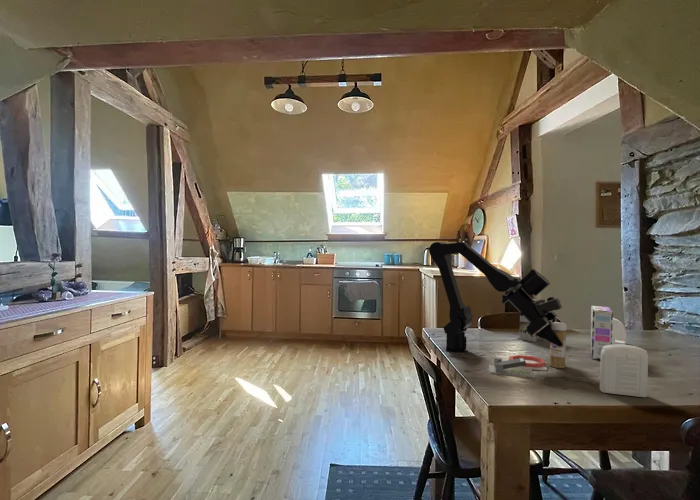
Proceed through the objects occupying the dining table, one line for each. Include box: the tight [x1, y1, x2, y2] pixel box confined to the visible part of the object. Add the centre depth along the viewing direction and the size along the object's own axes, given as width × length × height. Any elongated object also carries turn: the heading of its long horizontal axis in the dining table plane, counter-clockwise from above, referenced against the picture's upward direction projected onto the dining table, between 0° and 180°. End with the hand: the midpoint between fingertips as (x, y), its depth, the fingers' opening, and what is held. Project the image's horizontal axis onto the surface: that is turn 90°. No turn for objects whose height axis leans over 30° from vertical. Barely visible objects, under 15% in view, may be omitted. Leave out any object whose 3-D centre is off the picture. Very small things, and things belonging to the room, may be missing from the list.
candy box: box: [590, 305, 614, 361], centre depth 139 cm, size 14×6×16 cm, turn 151°
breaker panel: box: [488, 357, 536, 379], centre depth 119 cm, size 12×7×3 cm, turn 74°
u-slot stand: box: [612, 317, 627, 345], centre depth 154 cm, size 10×18×11 cm, turn 145°
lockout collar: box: [507, 354, 548, 371], centre depth 127 cm, size 10×10×2 cm
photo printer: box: [599, 344, 649, 398], centre depth 102 cm, size 10×4×12 cm, turn 72°
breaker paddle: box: [499, 358, 526, 369], centre depth 119 cm, size 1×4×8 cm
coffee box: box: [518, 298, 546, 342], centre depth 164 cm, size 9×6×16 cm
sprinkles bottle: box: [549, 321, 568, 369], centre depth 126 cm, size 5×5×14 cm
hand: (563, 344), depth 125 cm, fingers closed on sprinkles bottle, 4 cm apart
